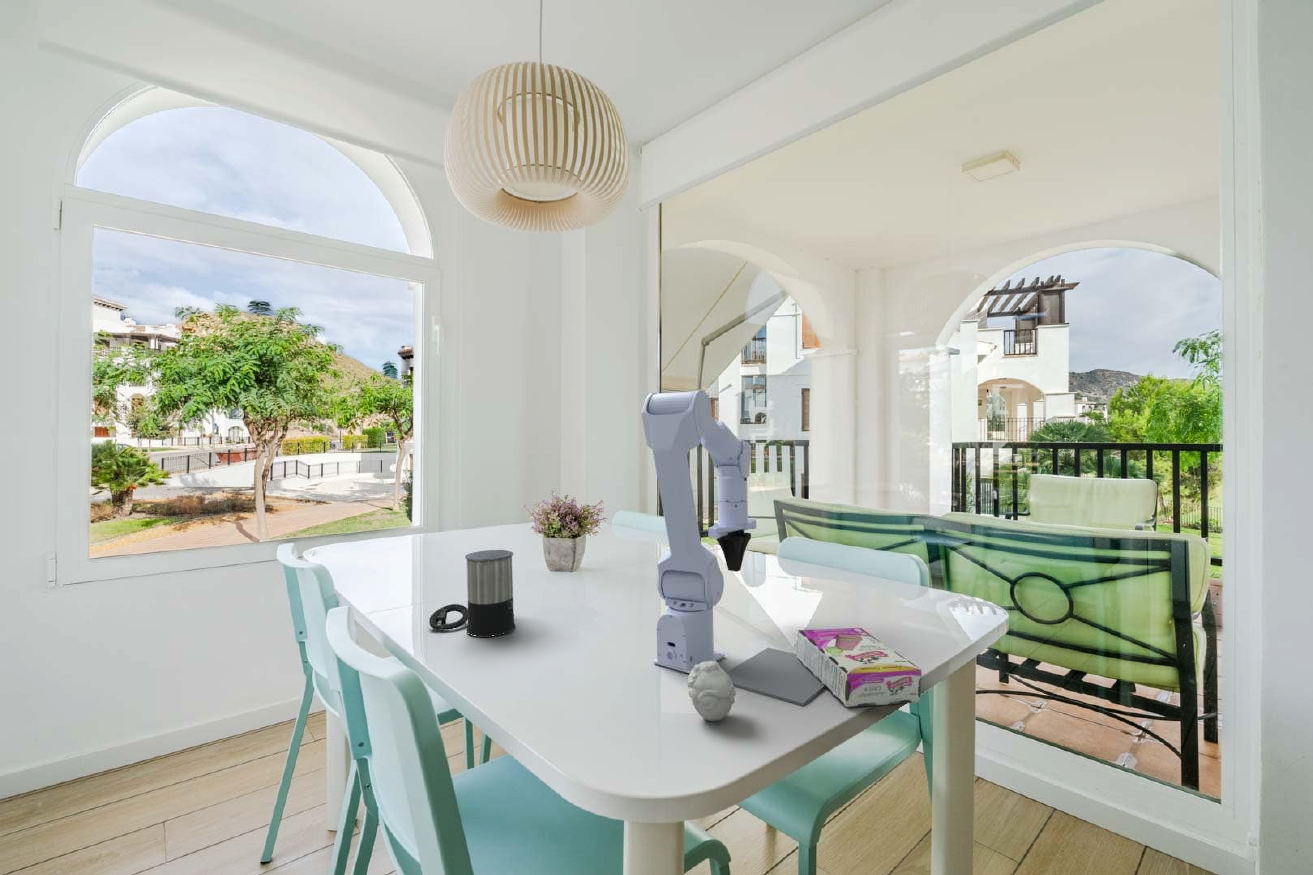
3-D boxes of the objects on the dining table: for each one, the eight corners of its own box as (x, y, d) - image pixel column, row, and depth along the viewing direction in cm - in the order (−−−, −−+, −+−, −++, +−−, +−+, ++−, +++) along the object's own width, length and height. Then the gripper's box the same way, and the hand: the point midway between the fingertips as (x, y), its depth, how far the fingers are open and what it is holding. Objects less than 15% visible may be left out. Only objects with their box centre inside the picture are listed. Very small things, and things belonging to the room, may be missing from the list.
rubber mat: (803, 706, 80) (803, 703, 80) (716, 680, 88) (715, 678, 88) (848, 668, 92) (848, 666, 92) (767, 649, 101) (767, 647, 101)
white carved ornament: (716, 702, 81) (715, 651, 81) (747, 723, 75) (746, 668, 75) (678, 712, 79) (677, 660, 79) (707, 735, 72) (706, 678, 72)
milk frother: (518, 634, 112) (517, 556, 112) (429, 646, 106) (427, 564, 106) (509, 613, 125) (507, 544, 125) (429, 623, 120) (427, 550, 120)
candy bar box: (860, 625, 96) (924, 668, 80) (859, 655, 96) (922, 704, 80) (796, 627, 94) (847, 672, 78) (794, 658, 94) (846, 709, 78)
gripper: (730, 505, 107) (731, 580, 107) (769, 498, 119) (770, 565, 119) (698, 503, 112) (700, 575, 112) (738, 496, 123) (740, 561, 123)
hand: (734, 570), depth 115 cm, fingers closed
